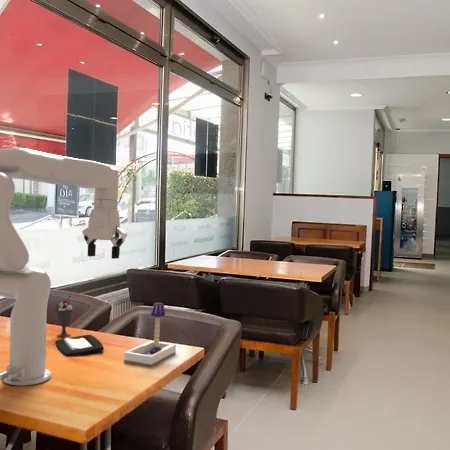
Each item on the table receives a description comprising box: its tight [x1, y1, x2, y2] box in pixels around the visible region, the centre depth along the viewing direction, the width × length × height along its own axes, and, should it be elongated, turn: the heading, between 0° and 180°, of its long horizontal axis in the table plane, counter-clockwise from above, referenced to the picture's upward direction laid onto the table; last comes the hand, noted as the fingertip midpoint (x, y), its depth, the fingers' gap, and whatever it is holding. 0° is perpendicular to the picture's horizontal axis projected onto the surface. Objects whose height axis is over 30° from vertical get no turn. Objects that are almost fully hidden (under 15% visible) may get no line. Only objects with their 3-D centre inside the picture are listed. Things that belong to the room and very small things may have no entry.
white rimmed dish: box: [123, 340, 177, 367], centre depth 171 cm, size 16×10×3 cm, turn 158°
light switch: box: [55, 334, 105, 357], centre depth 180 cm, size 20×3×14 cm
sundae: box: [54, 295, 75, 339], centre depth 194 cm, size 7×7×15 cm
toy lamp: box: [150, 302, 166, 354], centre depth 174 cm, size 5×5×17 cm
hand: (103, 257), depth 171 cm, fingers open, 9 cm apart
